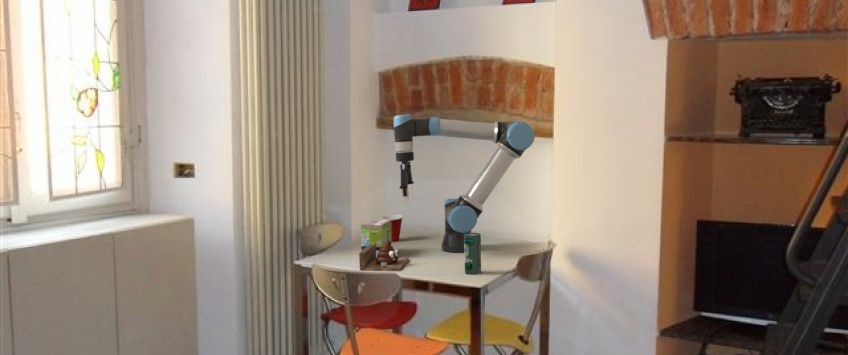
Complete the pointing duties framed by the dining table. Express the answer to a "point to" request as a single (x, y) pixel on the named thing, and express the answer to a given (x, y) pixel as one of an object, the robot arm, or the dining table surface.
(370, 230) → the tea box
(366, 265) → the ledge
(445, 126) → the robot arm
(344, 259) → the dining table surface
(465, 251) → the can
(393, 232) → the plastic cup
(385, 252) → the poop emoji
